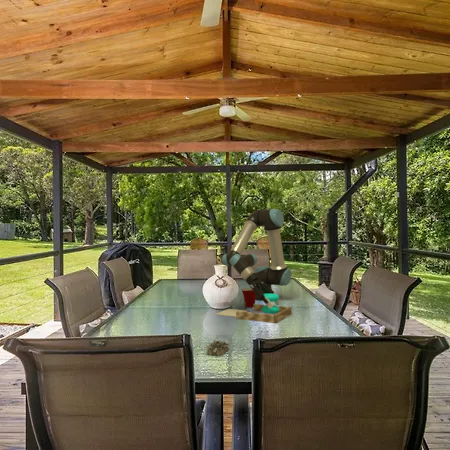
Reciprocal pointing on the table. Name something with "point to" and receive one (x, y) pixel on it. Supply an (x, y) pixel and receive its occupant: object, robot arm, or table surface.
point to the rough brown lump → (220, 348)
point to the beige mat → (230, 312)
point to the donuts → (271, 298)
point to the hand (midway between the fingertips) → (275, 305)
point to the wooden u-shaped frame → (269, 318)
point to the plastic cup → (249, 297)
